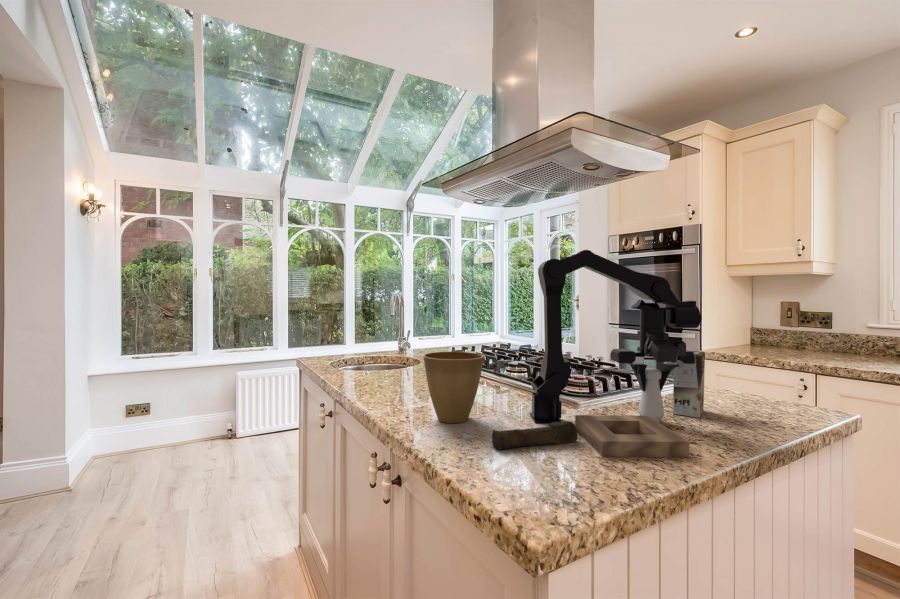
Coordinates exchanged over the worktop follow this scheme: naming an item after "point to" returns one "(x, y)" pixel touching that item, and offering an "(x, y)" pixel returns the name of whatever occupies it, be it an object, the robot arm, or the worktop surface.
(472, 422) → the worktop surface
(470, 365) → the plant pot
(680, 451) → the socket board
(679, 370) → the coffee box
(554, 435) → the dark brown log
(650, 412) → the salt shaker
